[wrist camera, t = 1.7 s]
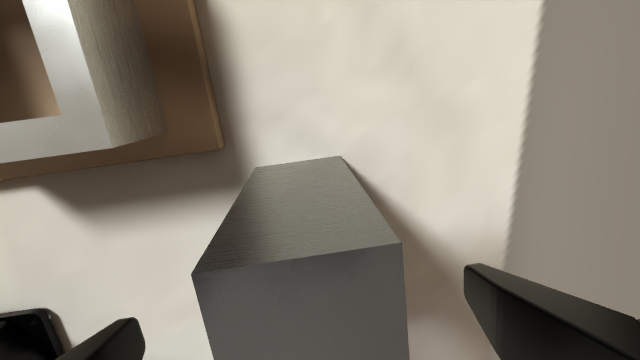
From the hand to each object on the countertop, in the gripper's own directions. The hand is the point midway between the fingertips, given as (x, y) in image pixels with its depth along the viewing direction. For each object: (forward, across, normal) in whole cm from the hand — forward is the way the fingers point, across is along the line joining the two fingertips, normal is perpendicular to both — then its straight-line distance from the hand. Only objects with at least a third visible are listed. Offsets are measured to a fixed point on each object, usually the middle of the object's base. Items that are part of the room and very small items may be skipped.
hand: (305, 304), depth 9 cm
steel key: (+8, 0, 0) cm, 9 cm away
